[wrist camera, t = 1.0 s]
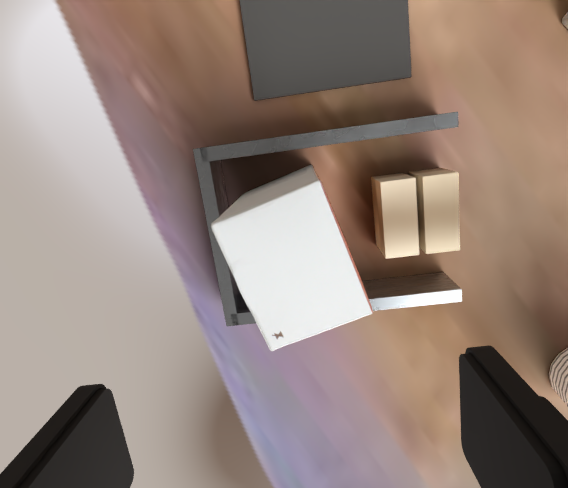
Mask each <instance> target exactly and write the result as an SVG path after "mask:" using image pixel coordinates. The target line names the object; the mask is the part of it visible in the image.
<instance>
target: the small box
mask: <svg viewBox="0 0 568 488" xmlns="http://www.w3.org/2000/svg"><path fill="white" fill-rule="evenodd" d="M211 228H212V231H213V233H214V235H215V237H216V240H217V242H218V244H219V246H220V248H221V251H222V253H223V255H224V257H225V259H226V261H227V263H228V266H229V268H230V270H231V272H232V274H233V276H234V279H235V281H236V283H237V286H238V288H239V291H240V293H241V295H242V297H243V299H244V300H245V303H246V305H247V307H248V308H249V310H250V311H251V313H252V315H253V317H254V319H255V321H256V323H257V325H258V327H259V329H260V331H261V333H262V335H263V337H264V339H265V341H266V343H267V345H268V347H269V349H270V350H271V351H273V350H276V349H278V348H281V347H283V346H286V345H289V344H291V343H294V342H297V341H300V340H303V339H305V338H308V337H311V336H313V335H316V334H319V333H322V332H324V331H327V330H330V329H332V328H335V327H338V326H340V325H343V324H346V323H349V322H351V321H354V320H357V319H359V318H362V317H365V316H367V315H370V314H372V313H373V310H372V306H371V304H370V301H369V299H368V296H367V293H366V291H365V288H364V285H363V283H362V280H361V277H360V275H359V272H358V270H357V267H356V265H355V262H354V260H353V257H352V255H351V252H350V250H349V247H348V245H347V242H346V240H345V238H344V235H343V233H342V230H341V228H340V225H339V223H338V221H337V218H336V216H335V214H334V212H333V209H332V206H331V204H330V201H329V199H328V196H327V194H326V192H325V190H324V187H323V185H322V183H321V181H320V180H319V178H318V176H317V174H316V172H315V170H314V167H313V165H309V166H306V167H304V168H302V169H299V170H297V171H295V172H292V173H290V174H288V175H285V176H283V177H281V178H278V179H276V180H274V181H271V182H269V183H266V184H264V185H262V186H259V187H257V188H255V189H252V190H250V191H248V192H245V193H244V194H243V195H242V196H241V197H239V198H238V199H237V200H236V201H235V202H234V203H233V204H232V205H231V206H230V207H229V208H228V209H227V210H226V211H225V212H224V213H223V214H222V215H221V216H220V217H219V218H217V219H216V220H215V221H214V222H212V223H211Z"/></svg>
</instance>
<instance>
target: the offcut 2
mask: <svg viewBox="0 0 568 488" xmlns="http://www.w3.org/2000/svg"><path fill="white" fill-rule="evenodd" d="M408 175H409V176H412V177H415V178H416V196H417V216H418V237H419V248H420V249H421V250H422V251H423V252H424V253H426V254H431V253H440V252H448V251H457V250H460V219H459V172H456V171H451V170H447V169H442V168H435V169H428V170H420V171H413V172H408Z"/></svg>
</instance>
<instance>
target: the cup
mask: <svg viewBox="0 0 568 488" xmlns="http://www.w3.org/2000/svg"><path fill="white" fill-rule="evenodd" d="M549 379H550V383H551V387H552V388H553V389H554V390H555V392H556V393H557V394H558V395H559V396H560V398H561V399H562V400H563V401H564V403H565V404H566V405H567V406H568V348H566V349H565V350H563V351H562V352H560V353H559V354H558V355H557V357H556V358H555V359H554V361H553V362H552V364H551V367H550V371H549Z"/></svg>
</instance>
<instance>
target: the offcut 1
mask: <svg viewBox="0 0 568 488" xmlns="http://www.w3.org/2000/svg"><path fill="white" fill-rule="evenodd" d="M371 184H372V197H373V210H374V223H375V235H376V245H377V247H378V248H379V250H380V251H381V253H382V254H383V255H384V257H385V258H386V259H388V258H397V257H405V256H414V255H419V237H418V216H417V196H416V178H415V177H412V176H409V175H407V174H404V173H397V174H390V175H382V176H374V177H371Z"/></svg>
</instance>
